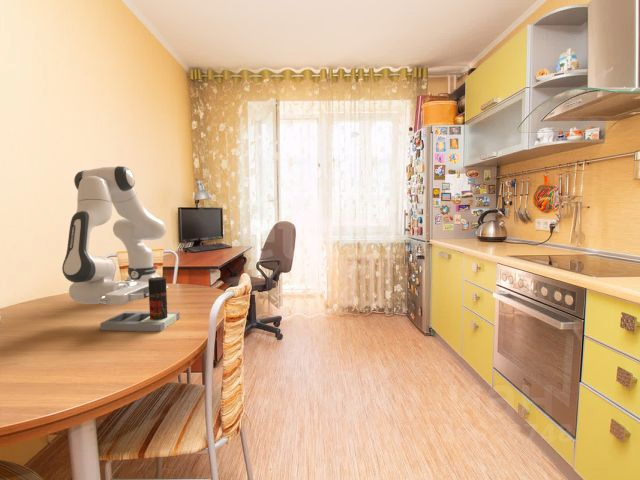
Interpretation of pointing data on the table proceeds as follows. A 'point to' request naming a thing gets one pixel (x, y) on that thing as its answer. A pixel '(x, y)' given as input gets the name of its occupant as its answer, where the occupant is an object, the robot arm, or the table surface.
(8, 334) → the table surface
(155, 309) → the deodorant
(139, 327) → the board
